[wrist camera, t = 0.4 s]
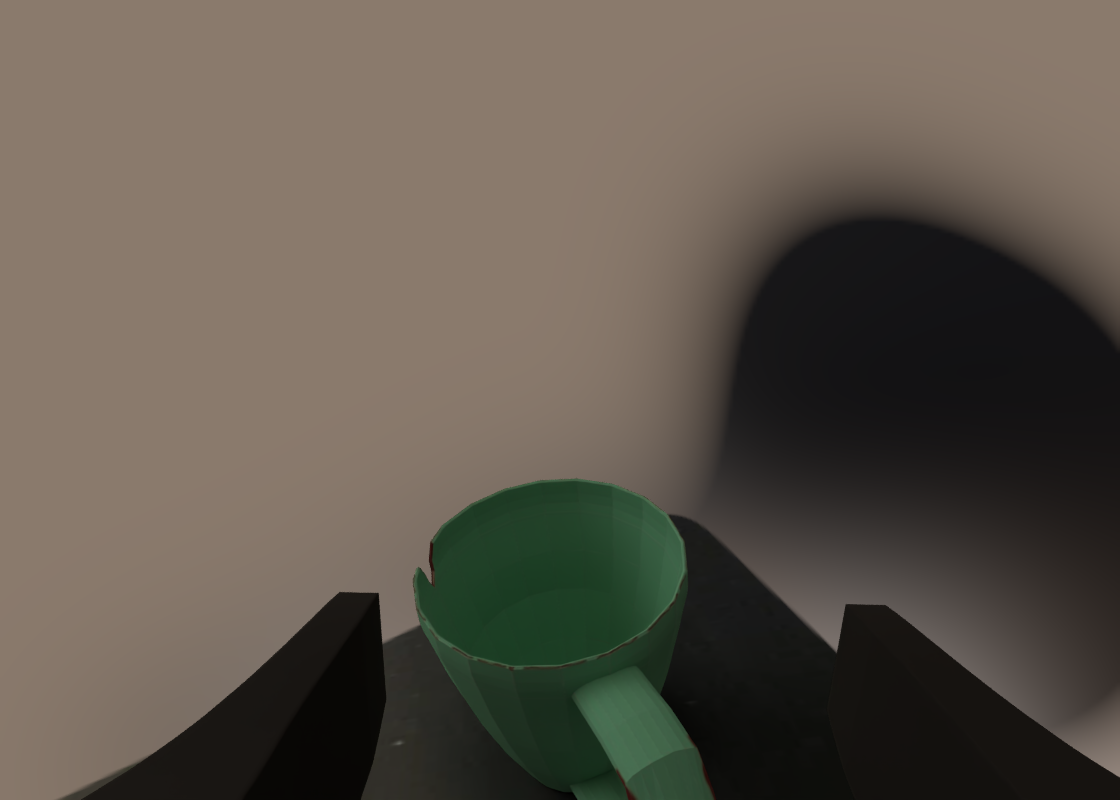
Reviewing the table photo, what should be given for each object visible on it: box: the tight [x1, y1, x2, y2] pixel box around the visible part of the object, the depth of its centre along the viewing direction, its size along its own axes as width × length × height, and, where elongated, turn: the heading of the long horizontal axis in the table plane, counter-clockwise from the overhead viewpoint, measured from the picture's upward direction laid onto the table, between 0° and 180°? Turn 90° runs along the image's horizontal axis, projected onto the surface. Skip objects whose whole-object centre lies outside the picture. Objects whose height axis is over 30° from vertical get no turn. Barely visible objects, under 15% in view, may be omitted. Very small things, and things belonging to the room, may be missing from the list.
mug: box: [413, 479, 716, 800], centre depth 29 cm, size 15×10×10 cm
